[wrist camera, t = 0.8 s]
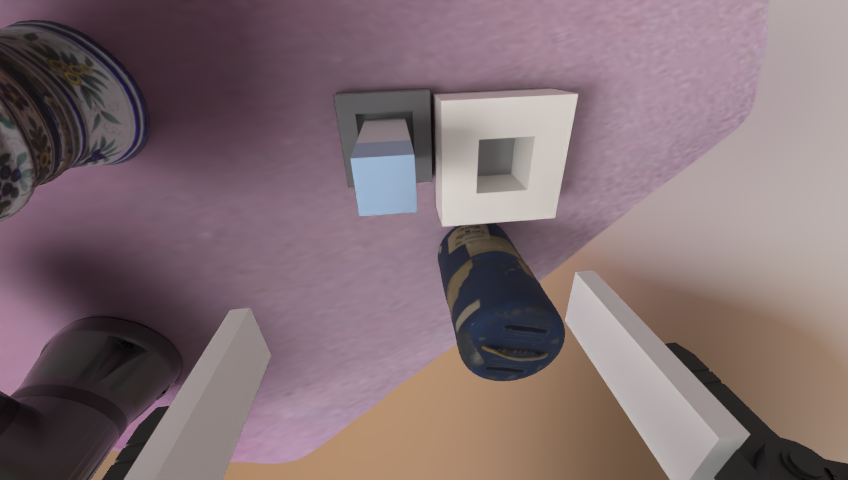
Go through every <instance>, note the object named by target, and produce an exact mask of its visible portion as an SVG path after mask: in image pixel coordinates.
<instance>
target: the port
mask: <svg viewBox="0 0 848 480" xmlns="http://www.w3.org/2000/svg"><path fill="white" fill-rule="evenodd" d="M577 99H578V94H577V93H572V92H567V91H562V90H557V89H551V88H537V89H517V90H497V91H477V92H457V93H437V94H433V125H434V174H435V205H436V208H437V211H438V214H439V218H440V221H441V224H442V227H446V226H459V225H472V224H485V223H498V222H511V221H524V220H537V219H550V218H555V215H556V210H557V205H558V199H559V194H560V189H561V183H562V178H563V173H564V168H565V162H566V157H567V152H568V146H569V141H570V136H571V130H572V125H573V120H574V115H575V109H576V104H577Z"/></svg>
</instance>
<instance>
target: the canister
mask: <svg viewBox="0 0 848 480" xmlns="http://www.w3.org/2000/svg"><path fill="white" fill-rule="evenodd" d="M438 263H439V267H440V271H441V277H442V282H443V287H444V291H445V296H446V300H447V303H448V305H449V309H450V314H451V319H452V323H453V327H454V331H455V335H456V340H457V346H458V349H459V353H460V355H461V358H462V360H463V362H464V364H465V365H466V367H468V369H469V370H471V371H472V372H473V373H475V374H476V375H478V376H480V377H482V378H485V379H489V380H494V381H511V380H517V379H521V378H525V377H528V376H530V375H533V374H535V373H537V372H538V371H540V370H542V369H543V368H545V367H546V366H547V365H549V364H550V363H551V362H552V361H553V360H554V359H555V357H556V356H557V355H558V354H559V352H560V350H561V348H562V346H563V343H564V337H565V329H564V324H563V322H562V319H561V317H560V315H559V314H558V312H557V310H556V308H555V307H554V305H553V304H552V302H551V301H550V299H549V298H548V296H547V295H546V294H545V292H544V290H543V289H542V287H541V285H540V283H539V282H538V281H537V279H536V278H535V276H534V275H533V273H532V272H531V270H530V268H529V267H528V266H527V265H526V264H525V262H524V261H523V259H522V257H521V256H520V254H519V253H518V251H517V250H516V248H515V247H514V245H513V244H512V242H511V241H510V239H509V238H508V236H507V235H506V233H505V232H504V231H503V230H502V229H501V228H499V227H498V226H496V225H494V224H492V223H485V224H472V225H459V226H457V227H455V228H454V229H452V230H451V231H450V232H449V233H448V234H447V235H446V236H445V238H444V239H443V241H442V243H441V245H440V247H439V251H438Z"/></svg>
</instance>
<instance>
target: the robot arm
mask: <svg viewBox="0 0 848 480" xmlns="http://www.w3.org/2000/svg"><path fill="white" fill-rule="evenodd" d="M565 322H566V323H567V325H568V326H569V328H570V329H571V331H572V332H573V334H574V336H575V337H576V339H577V340H578V342H579V343H580V345H581V346H582V348H583V349H584V351H585V352H586V354H587V355H588V357H589V358H590V360H591V361H592V363H593V364H594V366H595V367H596V369H597V370H598V372H599V373H600V375H601V376H602V378H603V379H604V381H605V382H606V384H607V385H608V387H609V388H610V390H611V391H612V393H613V394H614V396H615V397H616V399H617V400H618V402H619V403H620V405H621V406H622V408H623V409H624V411H625V412H626V414H627V416H628V417H629V419H630V420H631V421H632V423H633V424H634V426H635V428H636V429H637V431H638V432H639V434H640V435H641V437H642V438H643V439H644V441H645V443H646V444H647V446H648V447H649V449H650V450H651V452H652V453H653V455H654V456H655V458H656V459H657V461H658V462H659V464H660V465H661V467H662V468H663V469H664V471H665V473H666V474H667V476H668V477H669V479H670V480H714V479H715V480H848V464H846V463H841V462H835V461H830V460H826V459H824V458H822V457H821V456H819V455H818V454H817V453H815V452H814V451H812V450H811V449H809V448H807V447H805V446H803V445H801V444H799V443H797V442H794V441H791V440H787V439H784V438H780V437H779V436H778V435H777V434H775V433H774V432H773V431H772V430H771V429H770V428H769V427H768V426H767V425H766V424H765V423H764V422H762V420H761V419H760V418H759V417H758V416H756V414H754V413H753V412H752V411H751V410H750V409H749V408H748V407H747V406H746V405H745V404H744V403H743V402H742V401H741V400H740V399H739V398H738V397H737V396H736V395H735V394H734V393H733V392H732V391H731V390H730V389H729V388H728V387H727V386H726V385H725V384H722V383H721V380H720V379H719V378H718V377H717V376H716V375H714V374H713V372H710V371H709V368H707V367H706V366H705V365H704V364H703V363H702V362H701V361H700V360H699V359H698V358H697V357H696V356H695V355H694V354H693V353H691V352H690V351H688V350H686V349H685V348H683V347H682V346H680V345H678V344H677V343H668V344H664V343H663V342H662V341H661V340H660V339H659V338H658V337H657V336H656V335H655V334H654V333H653V332H652V331H651V330H650V328H649V327H647V326H646V324H645V323H644V322H643V321H642V320H641V319H640V318H639V317H638V316H637V315H636V314H635V313H634V312H633V311H632V310H631V309H630V308H629V306H628V305H627V304H626V303H625V302H624V301H623V300H622V299H621V298H620V297H619V296H618V295H617V294H616V293H615V292H614V291H613V290H612V289H611V288H610V287H609V286H608V285H607V283H606V282H605V281H604V280H602V278H601V277H600V276H599V275H598V274H597V273H596V272H595V271H594V270H588V271H579V272H575V277H574V281H573V286H572V290H571V295H570V299H569V304H568V309H567V313H566V318H565ZM270 358H271V353H270V351H269V349H268V347H267V344H266V342H265V340H264V338H263V335H262V333H261V331H260V329H259V326H258V324H257V322H256V320H255V318H254V315H253V313H252V311H251V309H250V308H242V309H233V310H230V311H229V312H228V314H227V315H226V317H225V319H224V320H223V322H222V323H221V325H220V327H219V328H218V330H217V331H216V333H215V335H214V336H213V338H212V339H211V341H210V343H209V344H208V346H207V347H206V349H205V351H204V352H203V354H202V355H201V357H200V359H199V360H198V362H197V363H196V365H195V367H194V368H193V370H192V371H191V373H190V375H189V376H188V378H187V379H186V381H185V382H184V384H183V386H182V387H181V389H180V390H179V392H178V394H177V395H176V397H175V398H174V400H173V402H172V403H171V405H170V406H165V407H157V408H156V409H155V410H154V411H153V412H152V413H151V414H150V415H149V416H148V417H147V418H146V419H145V420H144V421H143V422H142V423H141V424H140V425H139V426H138V427H137V429H136V430H135V432H134V433H133V435H132V436H131V438H130V439H129V440H128V442H127V443H126V447H125V448H123V449H122V451H121V452H120V454H119V455H118V457H117V458H116V460H115V464H114V465H112V466H111V467H110V468H109V470H108V471H107V473H106V474H105V476H104V478H103V479H102V480H223V478H224V475H225V473H226V470H227V467H228V465H229V462H230V460H231V457H232V455H233V452H234V450H235V447H236V445H237V442H238V439H239V437H240V434H241V432H242V429H243V427H244V424H245V422H246V419H247V417H248V414H249V411H250V409H251V406H252V404H253V401H254V399H255V396H256V394H257V391H258V389H259V386H260V383H261V381H262V378H263V376H264V373H265V371H266V368H267V366H268V363H269V361H270ZM181 369H182V362H181V358H180V356H179V354H178V352H177V350H176V349H175V348H174V347H173V345H172V344H171V343H170V342H168V341H167V340H166V339H165V338H164V337H162V336H161V335H159V334H158V333H156V332H154V331H152V330H150V329H148V328H146V327H144V326H141V325H139V324H136V323H132V322H129V321H125V320H120V319H114V318H87V319H82V320H78V321H75V322H73V323H71V324H69V325H67V326H66V327H64V328H63V329H62V330H61V331H59V332H58V333H57V334H56V335H55V336H53V337H52V338H51V339H50V340H49V341H48V342H47V343H46V345H45V346H44V348H43V350H42V352H41V354H40V357H39V358H38V360H37V361H36V363H35V364H34V366H33V367H32V369H31V370H30V372H29V373H28V375H27V376H26V378H25V380H24V381H23V383H22V384H21V386H20V387H19V388H18V390H16V391H15V392H14V393H13V394H12V395H11V396H10V397H9V396H8V395H6V394H4V393H3V392H1V391H0V480H91V478H92V477H93V476H94V474H95V473H96V471H97V470H98V468H99V467H100V465H101V464H102V463H103V461H104V460H105V458H106V457H107V455H108V454H109V452H110V451H111V450H112V448H113V447H114V445H115V444H116V442H117V441H118V439H119V438H120V437H121V435H122V434H123V432H124V431H125V430H126V428H127V427H128V426H129V424H131V423H132V422H133V421H134V420H135V419H136V418H138V417H139V416H140V415H141V414H142V413H143V412H145V411H146V410H147V409H148V408H149V407H150V406H151V405H152V404H153V403H154V402H155V401H156V400H158V399H159V398H161V397H162V396H163V395H165V394H166V393H167V392H168V391H169V390H170V388H171V387H172V386H173V384H174V382H175V381H176V379H177V378H178V376H179V375H180V373H181Z"/></svg>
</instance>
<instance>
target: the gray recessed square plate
mask: <svg viewBox="0 0 848 480" xmlns="http://www.w3.org/2000/svg"><path fill="white" fill-rule="evenodd" d="M333 96H334V102H335V109H336V115H337V121H338V127H339V133H340V139H341V145H342V151H343V157H344V163H345V170H346V176H347V182H348V187H355V185H354V179H353V172H352V166H351V159H350V158H351V156H352V153H353V150H354V148H355V145H356V142H357V139H358V137H359V134H360V131H361V129H362V126H363V123H364V121H365V120H371V119H390V118H405V121H406V124H407V128H408V132H409V136H410V140H411V144H412V147H413V151H414V157H415V176H416V183H419V182H432V152H431V111H430V90H429V89H428V88H427V89H407V90H387V91H366V92H346V93H336V94H334V95H333Z"/></svg>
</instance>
